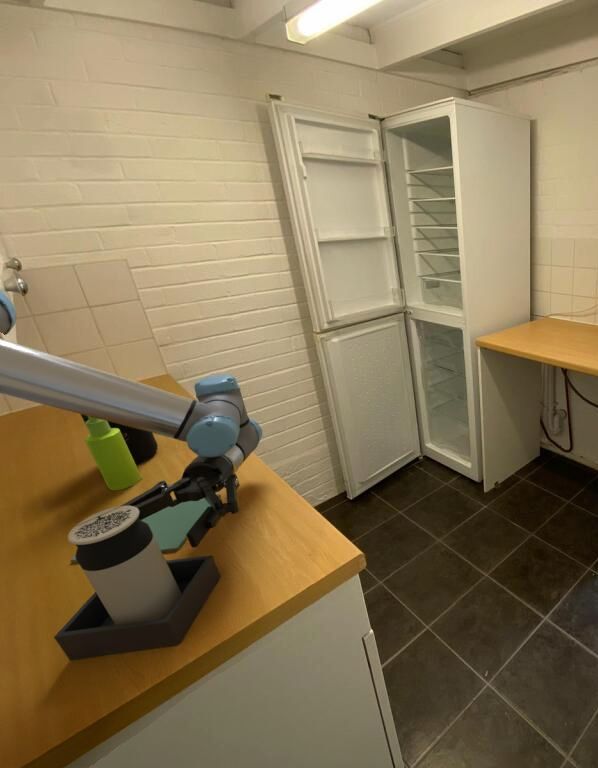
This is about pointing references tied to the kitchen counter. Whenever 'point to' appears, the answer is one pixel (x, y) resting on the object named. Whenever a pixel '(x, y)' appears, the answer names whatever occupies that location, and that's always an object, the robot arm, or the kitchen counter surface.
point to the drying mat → (174, 523)
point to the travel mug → (125, 565)
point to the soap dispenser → (111, 455)
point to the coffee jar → (135, 441)
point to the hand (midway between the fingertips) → (144, 546)
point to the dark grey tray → (102, 637)
